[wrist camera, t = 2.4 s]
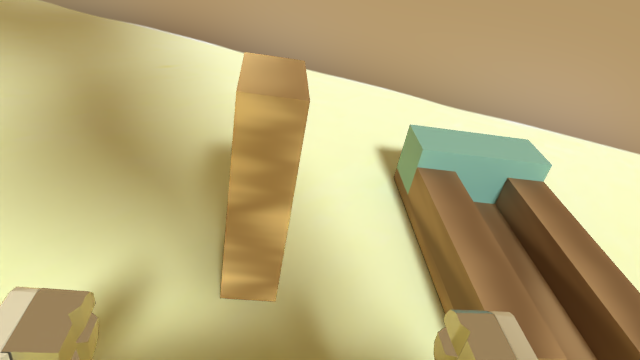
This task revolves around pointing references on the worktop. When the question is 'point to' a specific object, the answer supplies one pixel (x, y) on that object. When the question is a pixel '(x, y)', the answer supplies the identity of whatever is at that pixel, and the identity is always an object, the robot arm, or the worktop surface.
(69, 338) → the robot arm
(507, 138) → the walnut sill
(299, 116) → the oak plank
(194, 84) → the worktop surface
